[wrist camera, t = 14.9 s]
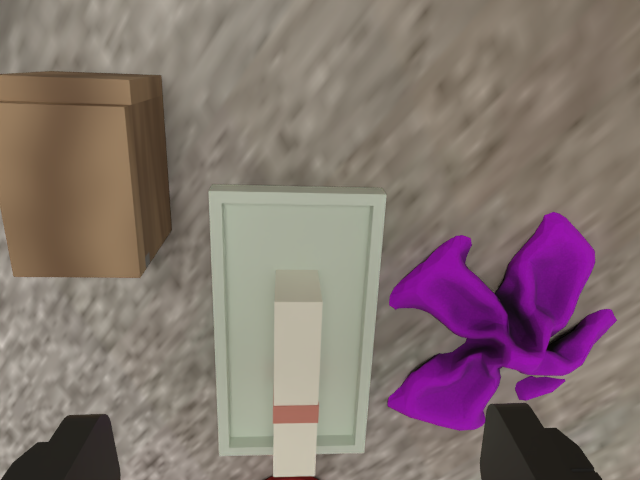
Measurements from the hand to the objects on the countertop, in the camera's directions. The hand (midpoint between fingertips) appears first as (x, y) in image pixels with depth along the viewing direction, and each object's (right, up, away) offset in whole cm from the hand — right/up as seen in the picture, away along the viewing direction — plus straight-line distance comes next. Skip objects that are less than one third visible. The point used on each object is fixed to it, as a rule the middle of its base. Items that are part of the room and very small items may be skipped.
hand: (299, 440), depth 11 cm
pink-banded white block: (-2, -4, +27) cm, 28 cm away
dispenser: (-13, +9, +22) cm, 27 cm away
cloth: (+16, -2, +29) cm, 33 cm away
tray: (-1, -2, +27) cm, 27 cm away
